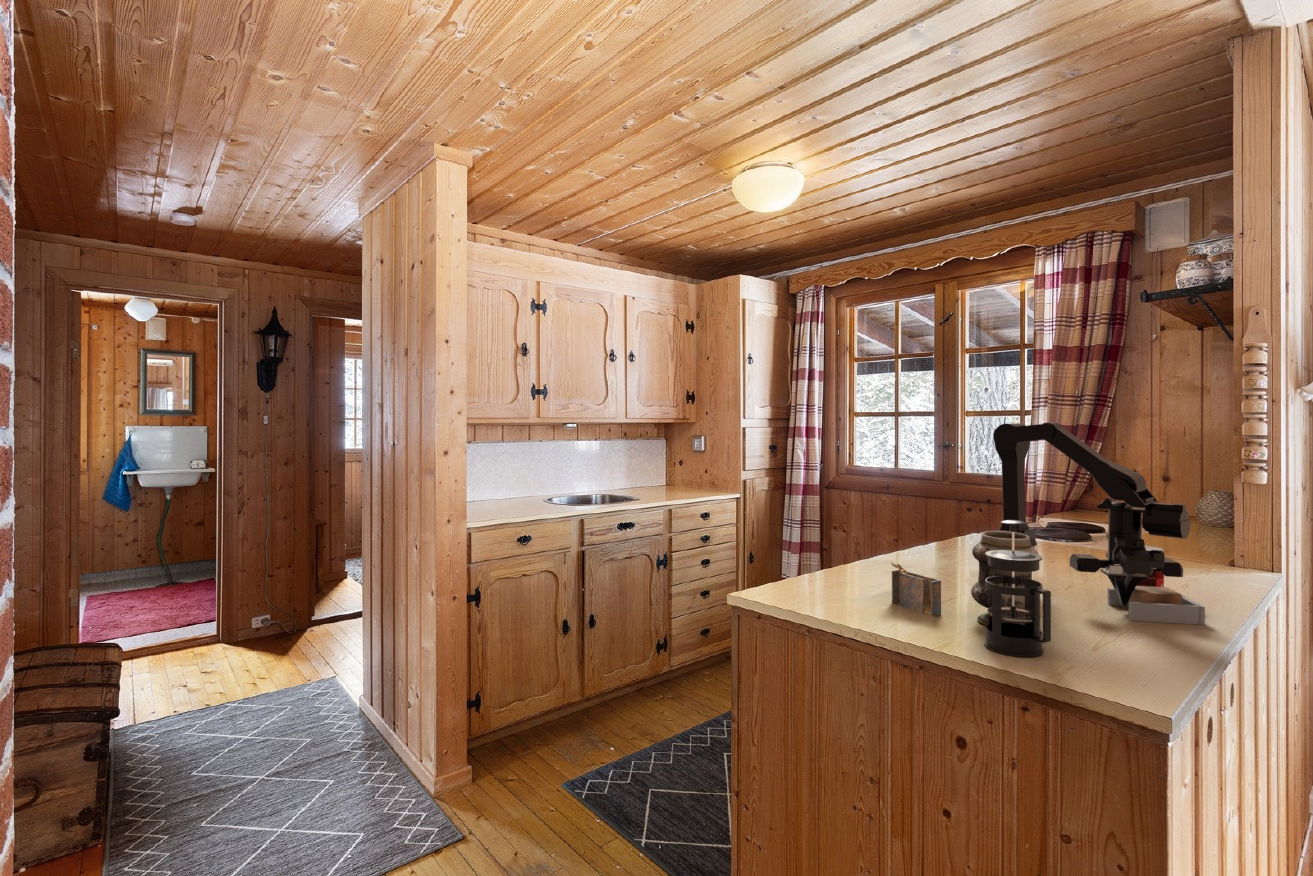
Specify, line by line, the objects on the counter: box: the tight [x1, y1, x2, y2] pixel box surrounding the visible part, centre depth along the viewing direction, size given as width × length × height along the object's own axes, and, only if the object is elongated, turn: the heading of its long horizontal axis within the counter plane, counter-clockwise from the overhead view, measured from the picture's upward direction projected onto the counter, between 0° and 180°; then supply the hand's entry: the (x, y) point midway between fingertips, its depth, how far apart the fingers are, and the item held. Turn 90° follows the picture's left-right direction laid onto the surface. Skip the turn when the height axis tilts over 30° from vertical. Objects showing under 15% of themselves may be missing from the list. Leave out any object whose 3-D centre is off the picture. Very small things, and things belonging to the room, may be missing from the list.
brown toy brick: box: [1129, 586, 1183, 605], centre depth 135 cm, size 7×7×5 cm
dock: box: [1107, 587, 1206, 626], centre depth 135 cm, size 12×12×4 cm
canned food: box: [1122, 545, 1165, 587], centre depth 148 cm, size 8×8×11 cm
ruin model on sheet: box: [890, 562, 942, 617], centre depth 141 cm, size 11×3×10 cm, turn 25°
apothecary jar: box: [970, 530, 1040, 626], centre depth 130 cm, size 12×12×18 cm
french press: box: [983, 520, 1052, 659], centre depth 116 cm, size 12×9×23 cm
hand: (1123, 605), depth 136 cm, fingers closed
